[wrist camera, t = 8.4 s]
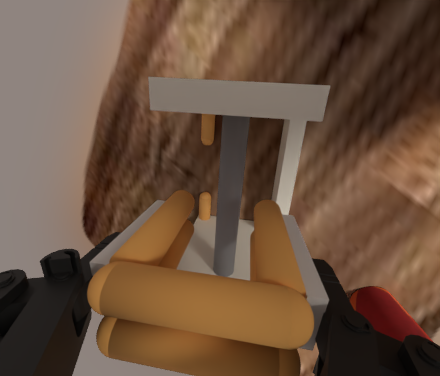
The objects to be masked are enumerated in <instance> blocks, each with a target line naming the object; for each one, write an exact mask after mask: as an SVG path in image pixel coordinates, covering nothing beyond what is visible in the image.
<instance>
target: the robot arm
mask: <svg viewBox="0 0 440 376" xmlns="http://www.w3.org/2000/svg"><path fill="white" fill-rule="evenodd" d="M164 202H165V201H163V200H157V201H156V202H154V203H153V204H152V205H151V206H150V207H149V208H148V209H147V210H146V211H145V212H144V213H142V214H141V215H140V216H139V217H138V218H137V219H136V220H135V221H134V222H133V223H132V224H130V225H129V226H128V227H127V228H126V229H125V230H124V231H123V232H122V233H118V232H116V233H113V234H111V235H109V236H107V237H106V238H105V239H104V240H103V241H101V242H100V244H98V245H97V246H96V247H95V248H93V249H92V250H91V251H90V252H89V253H87V254H86V255H85V256H84V257H83V258H81V259H80V256H79V253H78V251H77V250H74V249H64V250H58V251H56V252H53V253H51V254H49V255H47V256H45V257H44V258H43V259H42V260H41V261H40V263H41V266H42V270H43V274H44V277H41V278H31V279H27V277H26V273H25V272H24V271H23V270H19V269H17V270H9V271H5V272H1V273H0V376H72V374H73V371H74V368H75V365H76V362H77V359H78V356H79V353H80V350H81V347H82V344H83V341H84V338H85V335H86V332H87V329H88V326H89V323H90V320H91V308H92V307H91V306H90V304H89V302H88V298H87V290H88V286H89V283H90V281H91V279H92V277H93V276H94V274H95V273H96V272H97V271H98V270H99V269H100V268H102V267H103V266H105V265H107V264H109V261H110V258H111V257H112V256H113V255H114V254H115V253H116V252H117V251H118V250H119V248H120V247H121V246H122V245H123V244H124V243H125V242H126V241H127V240H128V239H129V238H130V237H131V236H132V235H133V234H134V233H135V232H136V231H137V230H138V229H139V228H140V227H141V226H142V225H143V224H144V223H145V222H146V221H147V220H148V219H149V218H150V217H151V216H152V215H153V214H154V213H155V212H156V211H157V210H158V209H159V208H160V206H161V205H162V204H163V203H164ZM282 216H283V220H284V223H285V226H286V229H287V232H288V235H289V239H290V242H291V245H292V248H293V251H294V254H295V258H296V261H297V264H298V267H299V270H300V273H301V277H302V280H303V283H304V286H305V289H306V295H305V299H306V300H307V301H308V303H309V305H310V307H311V309H312V312H313V316H314V330H313V333H312V336H311V338H310V339H309V341H308V342H307V343H306V344H305V345H304V346H302V347H300V348H302V349H307V350H313V348H314V345H315V342H316V343H317V347H318V350H319V355H318V358H317V361H316V364H315V367H314V370H313V373H314V374H315V376H440V346H438V345H437V344H435V343H434V342H432V341H430V340H429V339H426V338H424V337H421V336H419V335H412V334H410V335H408V336H405V338H404V340H403V342H402V341H399V340H397V339H395V338H392V337H390V336H387V335H385V334H383V333H381V332H379V331H377V330H375V329H374V327H373V326H372V324H371V323H370V322H369V321H368V319H366V318H365V317H364V316H363V315H362V314H360V313H359V312H357V311H355V310H354V309H353V307H352V305H351V303H350V301H349V299H348V297H347V295H346V293H345V292H344V290H343V288H342V286H341V284H340V282H339V280H338V278H337V277H336V275H335V273H334V271H333V269H332V267H331V266H330V265H329V264H328V263H326V262H325V261H324V260H320V259H313V258H311V256H310V253H309V251H308V249H307V246H306V244H305V242H304V239H303V237H302V235H301V232H300V230H299V227H298V225H297V223H296V220H295V218H294V216H292V215H283V214H282Z"/></svg>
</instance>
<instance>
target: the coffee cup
mask: <svg viewBox="0 0 440 376" xmlns="http://www.w3.org/2000/svg"><path fill="white" fill-rule="evenodd" d="M350 303H351V305H352V307H353V309H354V310H355V311H357V312H359V313H360V314H362V315H363V316H364V317H365V318H366V319H368V321H369V322H370V323H371V324H372V326H373V327H374V329H375V330H377V331H379V332H381V333H383V334H385V335H387V336H390V337H392V338H395V339H397V340H399V341H402V342H403V340H404V338H405V336H408V335H410V334H412V335H419V336H421V337H424V338H426V339H429V340H430V341H432V340H431V339H430V338H429V337H428V335H427V334H426V333H425V332H424V331H423V330H422V329H421V327H420V326H419V325H418V324H417V323H416V322H415V320H414V319H413V318H412V317H411V316H410V315H409V314H408V312H407V311H406V310H405V309H404V308H403V307H402V306H401V305H400V303H399V302H398V301H397V300H396V299H395V298H394V297H393V296H392V295H391V294H390V293H389V292H388V291H387V290H385V289H383V288H381V287H375V286H369V287H364V288H361V289H359V290H357V291H355V292H354V293H353V294H352V296H351V297H350ZM432 342H433V341H432Z"/></svg>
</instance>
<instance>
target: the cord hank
mask: <svg viewBox="0 0 440 376" xmlns="http://www.w3.org/2000/svg"><path fill="white" fill-rule="evenodd" d="M194 206H195V200H194V198H193V196H192V195H191V194H190V193H189V192H187V191H185V190H178V191H176V192H174V193H173V194H172V195H171V196H170V197H169V198H168V199H167V200H166V201H165V202H164V203H163V204H162V205H161V206H160V208H159V209H158V210H157V211H156V212H155V213H154V214H153V215H152V216H151V217H150V218H149V219H148V220H147V221H146V222H145V223H144V224H143V225H142V226H141V227H140V228H139V229H138V230H137V231H136V232H135V233H134V234H133V235H132V236H131V237H130V238H129V239H128V240H127V241H126V242H125V243H124V244H123V245H122V246H121V247H120V248H119V250H118V251H117V252H116V253H115V254H114V255H113V256H112V257H111V258H110V261H109V264H107V265H105V266H103V267H102V268H100V269H99V270H98V271H97V272H96V273H95V274H94V276H93V277H92V279H91V281H90V283H89V286H88V290H87V298H88V302H89V304H90V306H91V307H92V309H93V310H94V311H95V312H97V313H98V314H100V315H104V318H103V319H102V321H101V322H100V324H99V327H98V330H97V335H96V339H97V345H98V348H99V350H100V351H101V353H103V354H104V355H105V356H106V357H109V358H113V359H118V360H122V361H127V362H132V363H137V364H141V365H146V366H151V367H156V368H160V369H165V370H170V371H175V372H180V373H185V374H189V375H194V376H299V375H300V367H301V364H300V357H299V353H298V351H297V349H298V348H300V347H302V346H304V345H305V344H306V343H307V342H308V341H309V339H310V338H311V336H312V333H313V330H314V316H313V312H312V309H311V307H310V305H309V303H308V301H307V300H306V299H305V295H306V289H305V286H304V283H303V280H302V277H301V273H300V270H299V267H298V264H297V261H296V258H295V254H294V251H293V248H292V245H291V242H290V239H289V235H288V232H287V229H286V226H285V223H284V220H283V216H282V213H281V210H280V207H279V205H278V204H277V203H276V202H275V201H273V200H268V199H266V200H262V201H260V202H258V203H257V204H256V205H255V207H254V231H253V232H252V234H251V236H250V281H249V280H243V279H236V278H230V277H223V276H217V275H210V274H204V273H197V272H190V271H184V270H177V267H178V265H179V262H180V260H181V258H182V256H183V254H184V252H185V250H186V248H187V246H188V244H189V242H190V239H191V237H192V235H193V233H194V226H193V224H192V223H191V221H189V220H188V219H187V218H188V216H189V215H190V213H191V211H192V210H193V208H194Z"/></svg>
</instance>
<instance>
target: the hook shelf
mask: <svg viewBox="0 0 440 376" xmlns="http://www.w3.org/2000/svg"><path fill="white" fill-rule="evenodd" d="M148 78H149V97H150V110H156V111H171V112H186V113H201V114H202V129H201V140H202V143H203V144H205V145H211V144H212V143H213V141H214V130H215V115H223V120H222V136H221V152H220V168H219V184H218V200H217V216H210V209H211V195H210V194H209V193H208V192H203V193H201V194H200V197H199V215H198V217H197V219H196V221H195V223H194V225H193V226H194V233H193V235H192V237H191V239H190V242H189V244H188V246H187V248H186V250H185V252H184V254H183V256H182V258H181V260H180V262H179V265H178V267H177V270H184V271H190V272H197V273H204V274H210V275H217V276H223V277H230V278H236V279H243V280H249V281H250V236H251V234H252V232H253V231H254V221H250V220H242V219H239V216H240V206H241V197H242V187H243V178H244V168H245V159H246V150H247V140H248V131H249V121H250V117H260V118H274V119H284V125H283V131H282V137H281V144H280V150H279V156H278V162H277V168H276V175H275V181H274V187H273V193H272V199H271V200H273V201H275V202H276V203H277V204H278V205H279V207H280V210H281V213H282V214H283V215H288V214H289V209H290V204H291V198H292V193H293V188H294V183H295V178H296V173H297V168H298V163H299V158H300V153H301V148H302V143H303V138H304V133H305V128H306V123H307V121H319V122H322V121H323V117H324V112H325V108H326V104H327V99H328V95H329V90H330V86H329V85H309V84H288V83H267V82H247V81H226V80H205V79H185V78H164V77H148Z"/></svg>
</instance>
